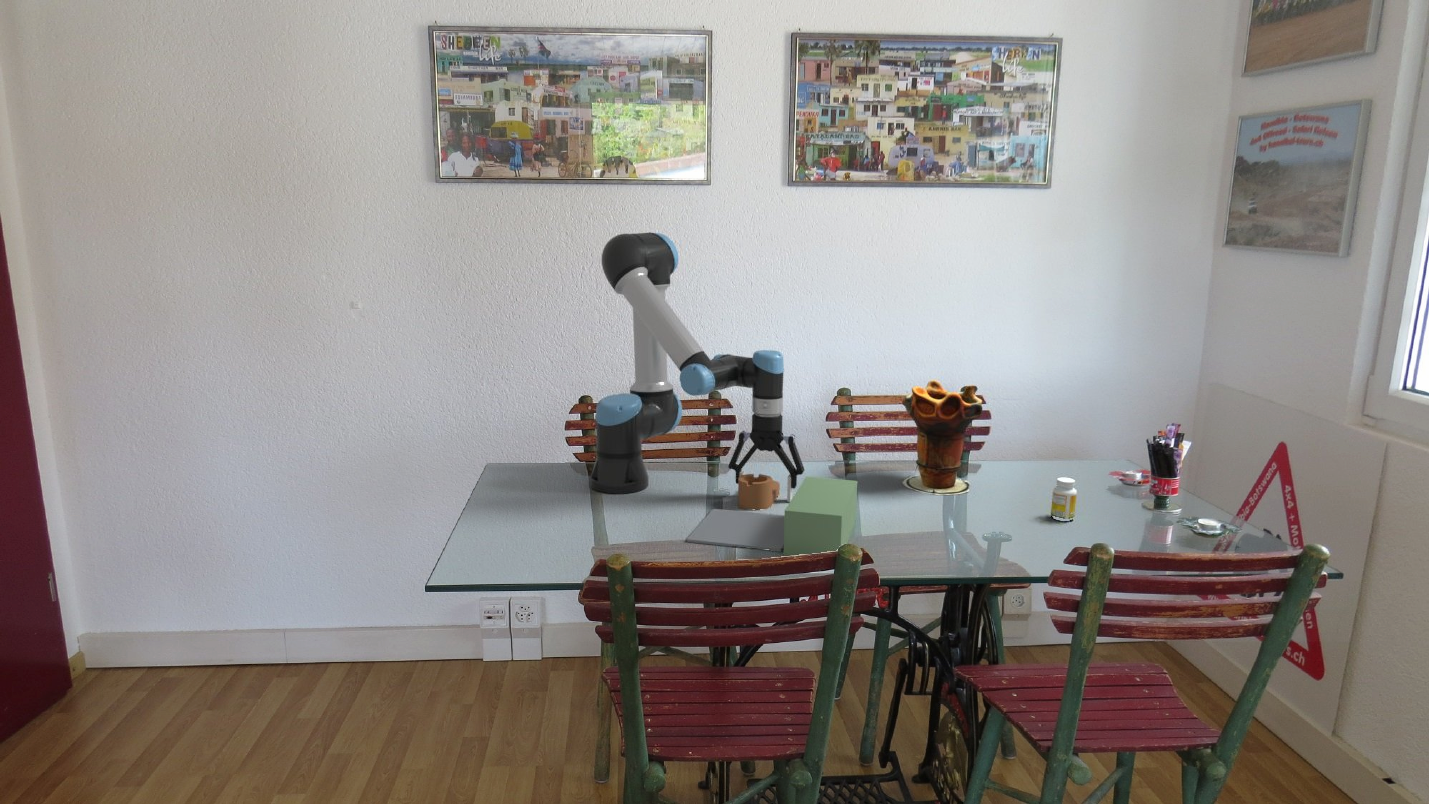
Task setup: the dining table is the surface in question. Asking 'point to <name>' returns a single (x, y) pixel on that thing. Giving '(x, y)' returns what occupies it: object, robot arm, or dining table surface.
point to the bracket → (757, 491)
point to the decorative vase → (940, 436)
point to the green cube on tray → (789, 521)
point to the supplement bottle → (1064, 499)
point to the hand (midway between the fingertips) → (765, 498)
